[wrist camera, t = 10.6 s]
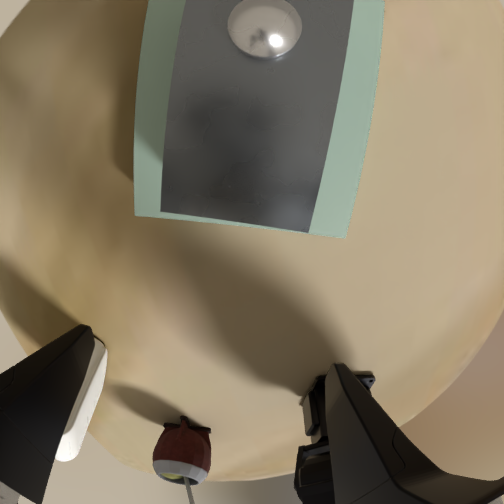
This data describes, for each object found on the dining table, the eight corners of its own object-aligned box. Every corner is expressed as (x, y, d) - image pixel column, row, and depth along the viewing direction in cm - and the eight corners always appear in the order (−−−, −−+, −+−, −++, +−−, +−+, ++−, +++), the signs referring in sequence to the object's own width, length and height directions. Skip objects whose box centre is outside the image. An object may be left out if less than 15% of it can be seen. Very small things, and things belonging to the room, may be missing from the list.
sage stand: (366, 14, 12) (384, 1, 10) (333, 218, 19) (345, 238, 16) (169, -8, 12) (154, -25, 9) (151, 198, 18) (134, 215, 16)
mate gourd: (155, 410, 31) (131, 517, 18) (219, 418, 31) (208, 532, 18) (167, 435, 35) (150, 526, 21) (222, 441, 35) (214, 536, 21)
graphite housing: (296, 200, 15) (311, 241, 11) (183, 184, 15) (154, 219, 11) (330, 19, 11) (361, -12, 6) (209, 1, 10) (188, -37, 6)
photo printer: (104, 390, 30) (74, 474, 19) (74, 376, 29) (38, 456, 18) (113, 344, 25) (67, 452, 14) (75, 325, 24) (20, 425, 14)
